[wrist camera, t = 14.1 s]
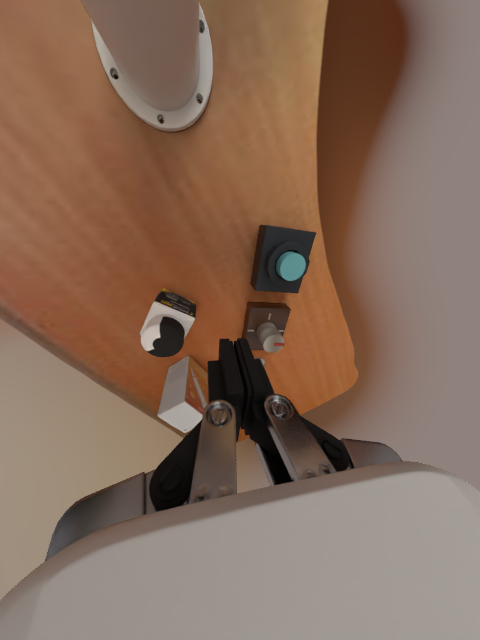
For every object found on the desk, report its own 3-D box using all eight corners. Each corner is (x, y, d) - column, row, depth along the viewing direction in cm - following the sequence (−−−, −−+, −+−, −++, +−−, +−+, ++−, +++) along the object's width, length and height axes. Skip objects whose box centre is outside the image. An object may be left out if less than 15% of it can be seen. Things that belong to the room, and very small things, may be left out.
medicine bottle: (196, 302, 37) (194, 334, 26) (182, 329, 39) (175, 368, 29) (162, 286, 34) (144, 316, 24) (149, 316, 36) (128, 354, 26)
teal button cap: (279, 250, 29) (283, 252, 27) (303, 252, 30) (309, 255, 28) (273, 276, 31) (277, 280, 29) (295, 278, 32) (301, 281, 30)
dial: (255, 338, 40) (261, 353, 36) (258, 321, 38) (266, 335, 34) (273, 338, 41) (281, 353, 37) (277, 322, 39) (287, 336, 35)
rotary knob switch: (247, 301, 39) (250, 307, 36) (285, 303, 41) (291, 309, 38) (241, 342, 44) (243, 350, 41) (274, 342, 46) (279, 350, 43)
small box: (208, 372, 47) (210, 420, 36) (188, 384, 47) (184, 434, 36) (189, 354, 43) (184, 401, 32) (167, 366, 43) (155, 417, 32)
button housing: (259, 224, 32) (270, 225, 27) (304, 231, 34) (323, 233, 28) (250, 284, 37) (258, 294, 32) (289, 286, 39) (303, 297, 34)
